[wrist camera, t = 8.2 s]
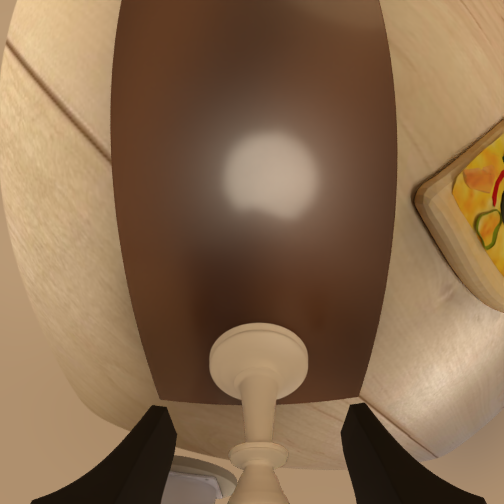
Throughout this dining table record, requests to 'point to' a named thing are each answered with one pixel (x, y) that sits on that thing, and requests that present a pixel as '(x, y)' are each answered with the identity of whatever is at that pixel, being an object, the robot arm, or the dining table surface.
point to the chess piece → (258, 400)
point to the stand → (254, 182)
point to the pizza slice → (471, 216)
